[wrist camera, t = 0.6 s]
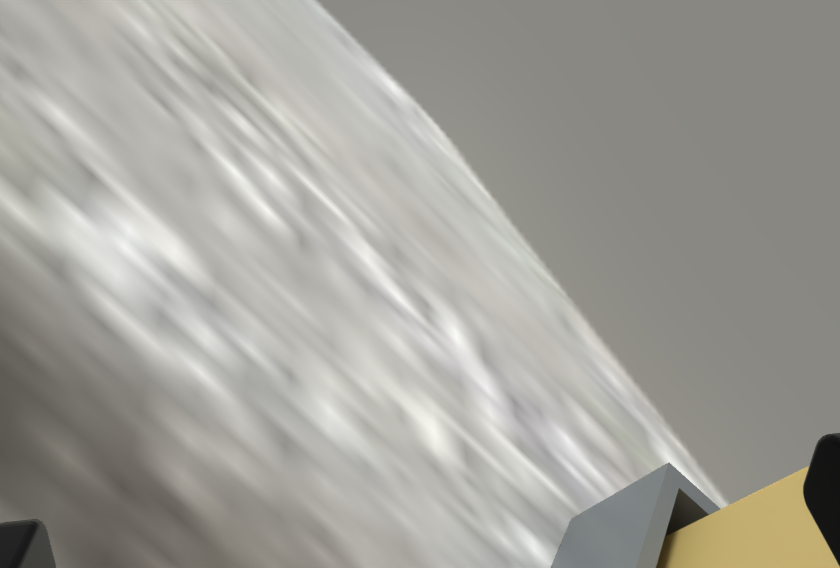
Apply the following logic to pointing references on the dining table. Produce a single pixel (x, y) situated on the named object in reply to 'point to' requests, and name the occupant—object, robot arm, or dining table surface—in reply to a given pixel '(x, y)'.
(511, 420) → the dining table surface
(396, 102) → the dining table surface
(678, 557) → the ochre block
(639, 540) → the sleeve
